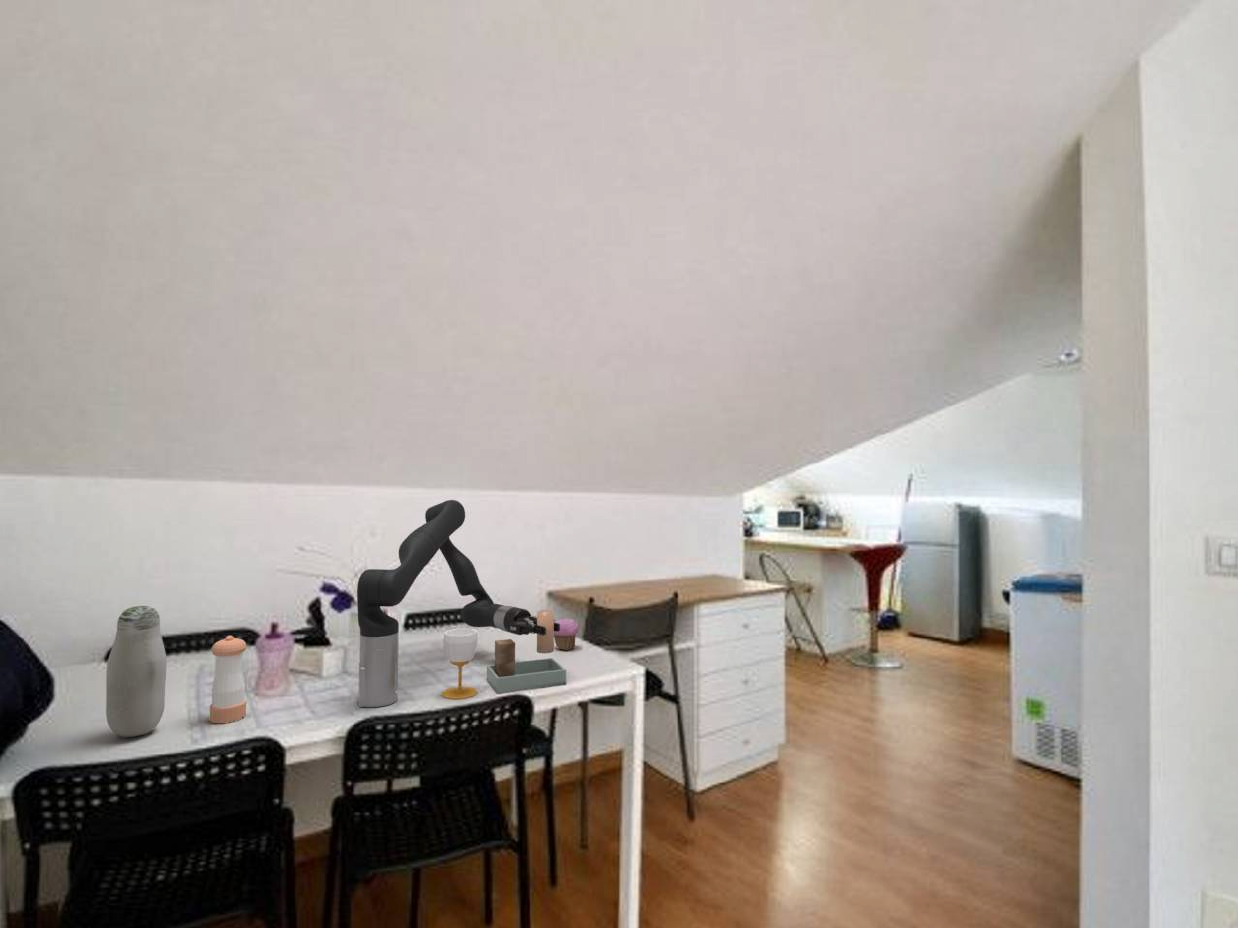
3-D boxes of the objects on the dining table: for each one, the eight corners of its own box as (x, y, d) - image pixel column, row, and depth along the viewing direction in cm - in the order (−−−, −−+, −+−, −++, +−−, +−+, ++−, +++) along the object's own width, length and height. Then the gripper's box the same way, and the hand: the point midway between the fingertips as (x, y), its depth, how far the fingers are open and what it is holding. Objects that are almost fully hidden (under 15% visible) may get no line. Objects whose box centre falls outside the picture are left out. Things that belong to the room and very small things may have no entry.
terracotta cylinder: (539, 654, 177) (539, 614, 177) (534, 649, 181) (534, 610, 181) (556, 652, 179) (556, 612, 179) (550, 647, 183) (550, 609, 183)
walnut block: (498, 685, 172) (498, 644, 172) (494, 680, 176) (494, 640, 176) (514, 683, 174) (515, 642, 174) (510, 678, 178) (510, 638, 178)
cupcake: (583, 647, 213) (583, 617, 214) (569, 653, 206) (569, 622, 206) (560, 644, 218) (561, 614, 218) (546, 650, 210) (546, 619, 210)
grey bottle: (93, 742, 136) (97, 610, 136) (137, 723, 146) (140, 600, 146) (134, 745, 134) (137, 612, 135) (175, 726, 144) (177, 602, 145)
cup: (440, 689, 171) (441, 629, 171) (474, 686, 174) (475, 626, 174) (443, 700, 162) (444, 637, 162) (479, 696, 165) (480, 634, 166)
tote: (497, 693, 168) (497, 678, 168) (486, 679, 179) (486, 665, 179) (565, 684, 176) (566, 669, 176) (551, 671, 187) (551, 658, 187)
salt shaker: (206, 717, 150) (207, 635, 150) (241, 709, 155) (242, 630, 155) (213, 726, 144) (215, 641, 145) (249, 718, 150) (251, 636, 150)
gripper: (493, 611, 184) (533, 620, 173) (530, 603, 195) (570, 611, 184) (493, 637, 184) (532, 648, 173) (530, 627, 195) (570, 637, 184)
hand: (551, 629), depth 178 cm, fingers closed on terracotta cylinder, 4 cm apart
